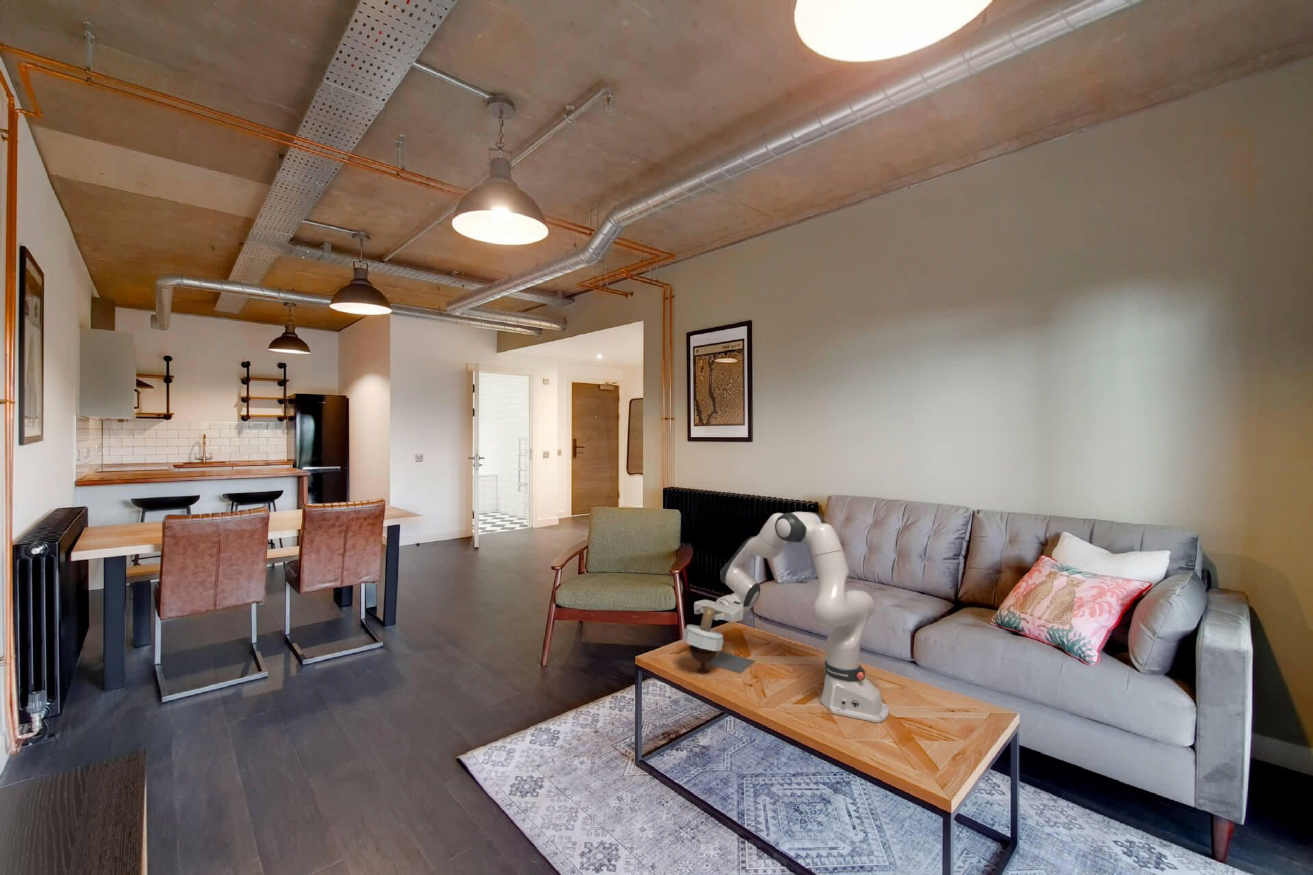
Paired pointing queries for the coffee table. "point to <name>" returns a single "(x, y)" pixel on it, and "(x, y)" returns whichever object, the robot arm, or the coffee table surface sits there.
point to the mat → (730, 662)
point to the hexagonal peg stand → (704, 633)
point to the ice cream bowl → (702, 657)
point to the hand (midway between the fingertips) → (704, 614)
